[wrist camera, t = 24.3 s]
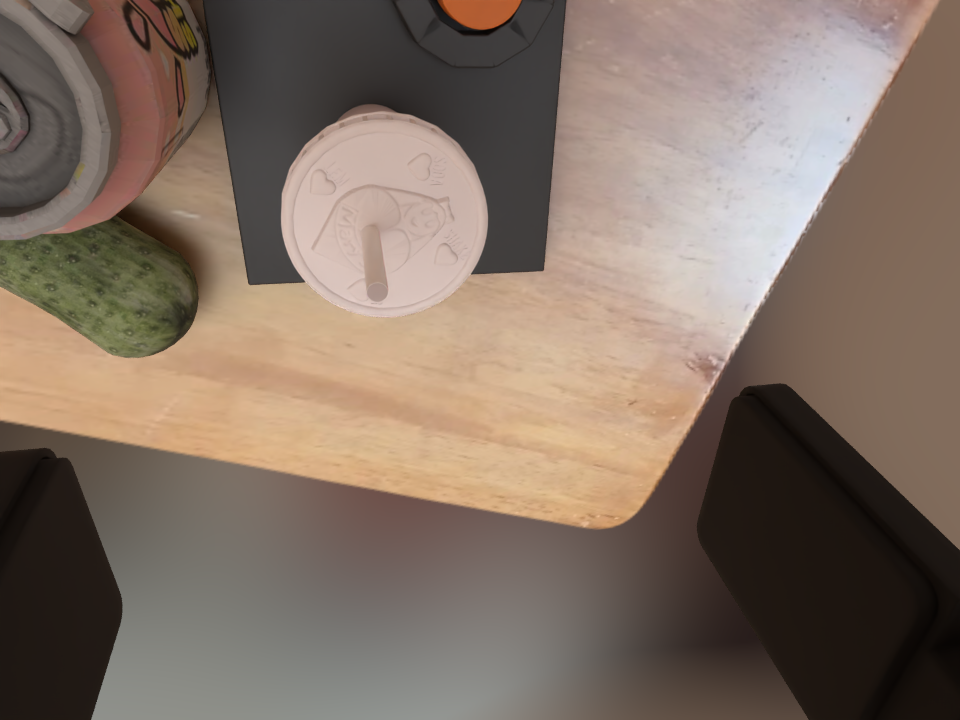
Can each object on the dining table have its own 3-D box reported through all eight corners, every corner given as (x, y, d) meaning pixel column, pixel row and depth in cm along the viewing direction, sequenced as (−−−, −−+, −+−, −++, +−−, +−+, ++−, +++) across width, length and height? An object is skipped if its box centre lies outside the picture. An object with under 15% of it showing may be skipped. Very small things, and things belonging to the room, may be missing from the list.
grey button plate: (185, -146, 24) (167, -158, 21) (566, -125, 26) (591, -134, 23) (251, 273, 32) (244, 301, 29) (537, 260, 34) (553, 285, 32)
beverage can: (-95, 29, 25) (-396, 78, 15) (32, -163, 23) (-214, -260, 13) (135, 199, 29) (28, 327, 19) (259, 52, 27) (213, 108, 17)
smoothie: (271, 92, 27) (219, 201, 15) (425, 49, 27) (494, 122, 15) (326, 238, 30) (320, 420, 18) (463, 199, 30) (543, 354, 19)
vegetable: (229, 266, 31) (212, 314, 27) (168, 343, 33) (142, 399, 29) (-103, 45, 25) (-193, 63, 21) (-162, 152, 26) (-258, 189, 22)
